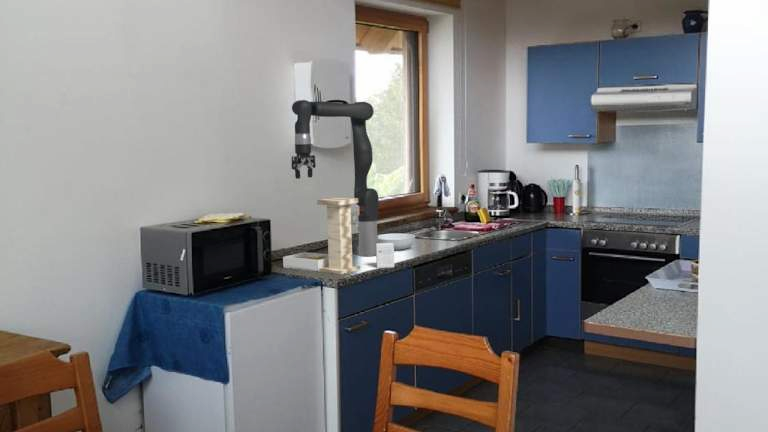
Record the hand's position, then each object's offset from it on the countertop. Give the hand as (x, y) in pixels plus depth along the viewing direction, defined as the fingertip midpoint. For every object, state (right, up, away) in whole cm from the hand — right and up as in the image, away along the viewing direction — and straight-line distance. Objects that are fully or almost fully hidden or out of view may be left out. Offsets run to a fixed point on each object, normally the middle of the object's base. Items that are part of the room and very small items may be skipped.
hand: (304, 177), depth 370 cm
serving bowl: (+43, -35, +38) cm, 68 cm away
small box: (+38, -41, -12) cm, 57 cm away
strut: (+3, -40, -9) cm, 41 cm away
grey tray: (+4, -41, -9) cm, 42 cm away
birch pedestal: (+18, -42, -20) cm, 50 cm away
